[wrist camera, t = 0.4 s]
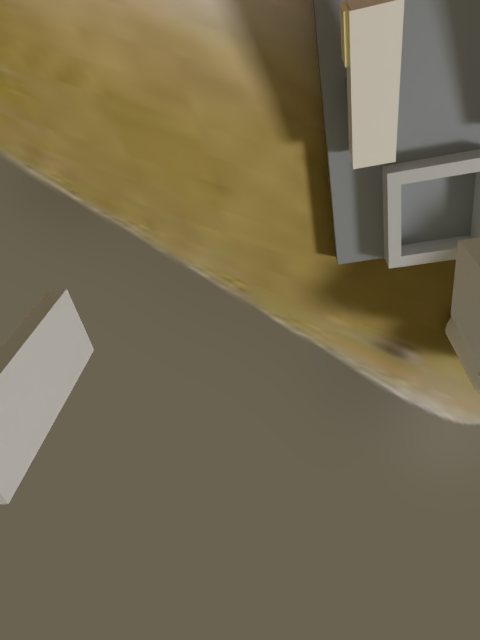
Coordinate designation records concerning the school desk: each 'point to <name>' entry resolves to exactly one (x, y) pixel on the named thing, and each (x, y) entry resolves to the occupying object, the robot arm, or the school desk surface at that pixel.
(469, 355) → the cable organizer
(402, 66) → the panel
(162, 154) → the school desk surface
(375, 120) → the block
